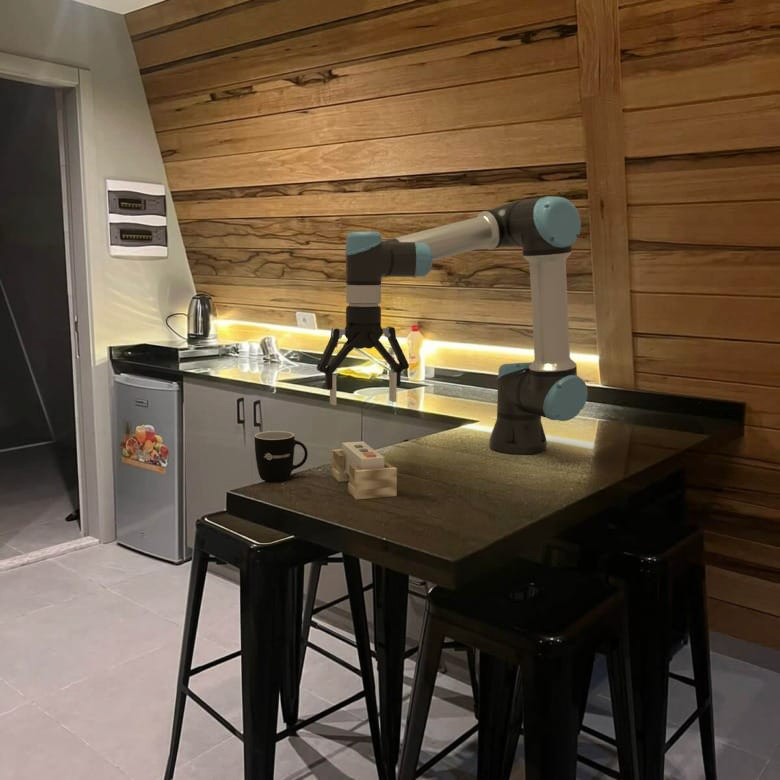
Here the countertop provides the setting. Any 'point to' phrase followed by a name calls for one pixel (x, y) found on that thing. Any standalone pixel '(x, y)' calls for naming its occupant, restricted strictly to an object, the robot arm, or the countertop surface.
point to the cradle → (365, 478)
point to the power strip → (361, 456)
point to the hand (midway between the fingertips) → (363, 402)
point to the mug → (276, 455)
